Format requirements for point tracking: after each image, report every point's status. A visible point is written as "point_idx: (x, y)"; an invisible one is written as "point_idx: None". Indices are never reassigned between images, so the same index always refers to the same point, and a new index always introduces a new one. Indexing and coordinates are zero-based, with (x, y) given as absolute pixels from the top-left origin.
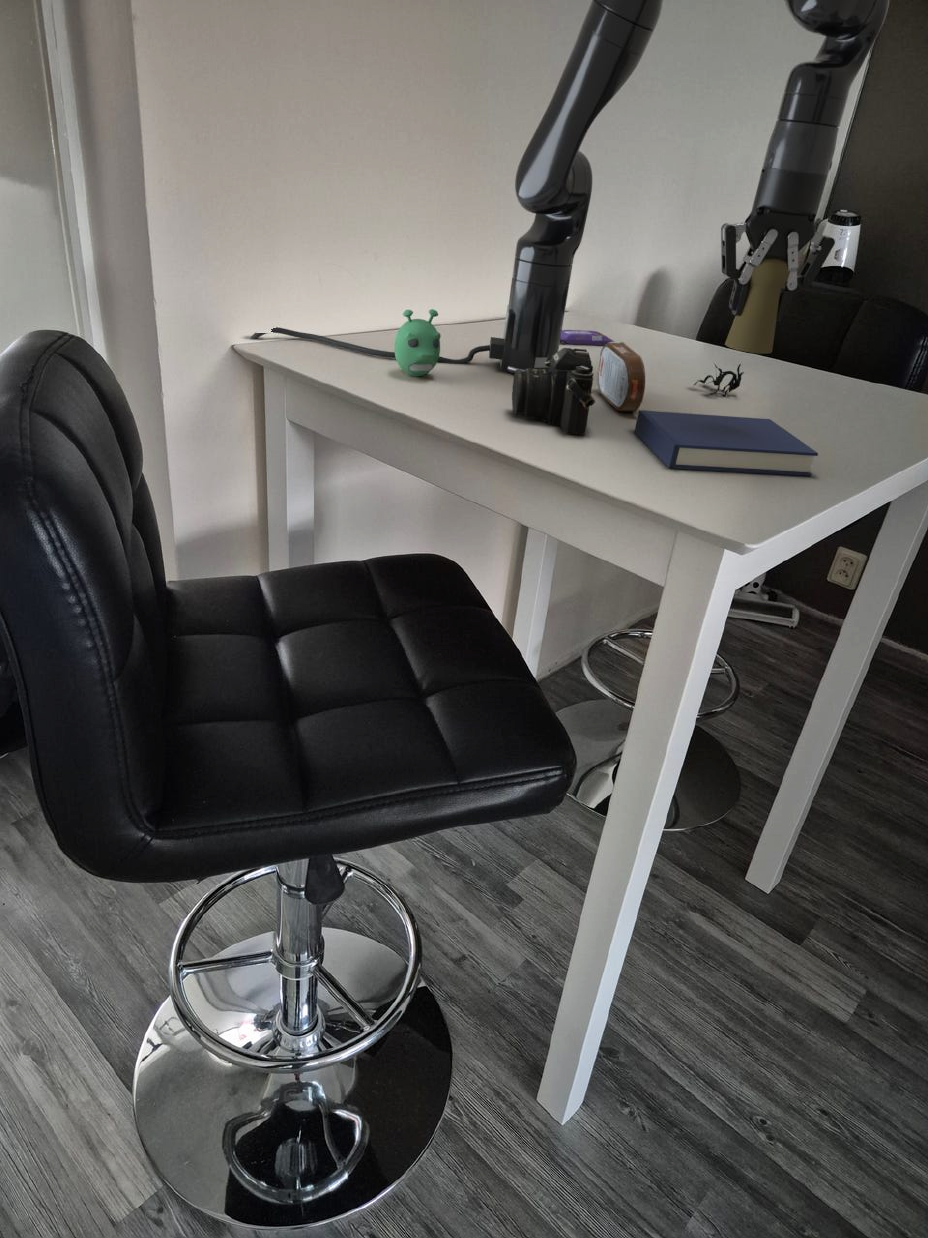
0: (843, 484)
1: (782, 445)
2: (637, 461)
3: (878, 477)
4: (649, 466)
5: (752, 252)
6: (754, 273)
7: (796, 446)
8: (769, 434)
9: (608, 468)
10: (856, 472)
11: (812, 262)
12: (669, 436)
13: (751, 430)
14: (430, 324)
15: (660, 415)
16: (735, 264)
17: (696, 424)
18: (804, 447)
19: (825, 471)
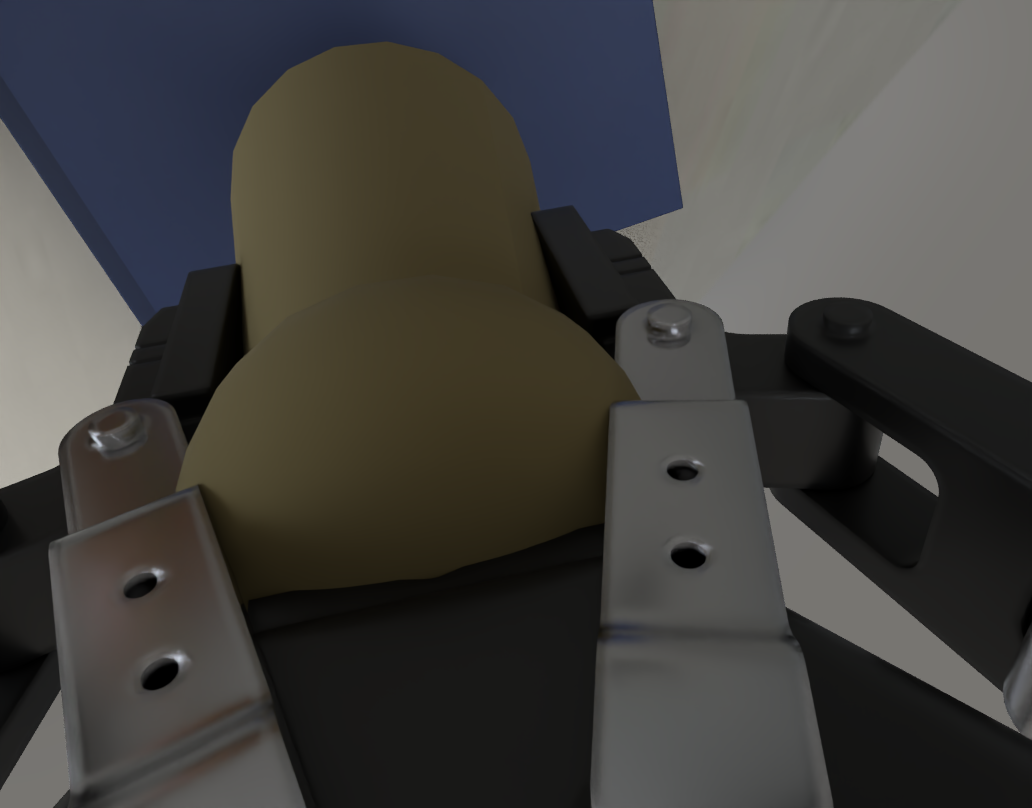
0: (740, 201)
1: (569, 189)
2: (79, 326)
3: (904, 64)
4: (128, 350)
5: (159, 578)
6: None
7: (622, 170)
8: (547, 60)
9: (14, 426)
10: (846, 45)
11: (921, 605)
12: (146, 313)
13: (476, 40)
14: None
15: (41, 24)
16: (35, 720)
17: (230, 84)
18: (651, 166)
19: (728, 94)
